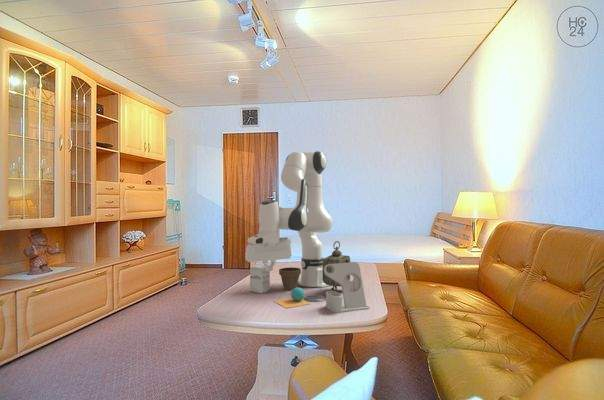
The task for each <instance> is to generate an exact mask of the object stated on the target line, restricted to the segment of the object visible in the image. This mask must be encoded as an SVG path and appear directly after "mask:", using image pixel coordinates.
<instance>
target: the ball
mask: <svg viewBox="0 0 604 400" xmlns="http://www.w3.org/2000/svg"><path fill="white" fill-rule="evenodd" d="M304 297H305V291H304V288H301V287H298V286H297V288H294V289H293V290H291V292H290V298H292V299H293V300H295V301H301V300H304Z"/></svg>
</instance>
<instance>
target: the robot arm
mask: <svg viewBox="0 0 604 400" xmlns="http://www.w3.org/2000/svg"><path fill="white" fill-rule="evenodd" d="M326 166H327V156H326V155H325V154H324V152H322V151H320V150H319V151H318V150H316V151H303V152H302V151H301V152H300V151H292V152H291V153H289V154H288V155H287V157H286V159H285V161H284V164H283V168H282V170H281V173H280V174H281V175H280V180H281V181H280V182H282V184H283V185H284V187H285V188H287V189H288V190H291V191H293V192H296V193H297V194H296V203H295V206H293V207H281V206H280V205H279V201H278V200H275V199H269V200H268V199H267V200H263V201H261V202H260V204H259V207H258V224H259V226H258V227H259V228H258V234H255V235H253V236H250V237H248V238H247V243H248V244H247V245H246V248H245V261H247V262H248V263H259V262H262V265H264V266H265V271H270V272H273V271H274V267H275V265H276V264H277V263H276V261H278V260H289V259H291V257H292V247H291V246H292V245H291V244H292V243H291V239H290V238H289V237H280V230H287V231H288V230H290V231H297V233H298V236H299V239H300V241H301V262H300V263H301V264H300V265H301V274H300V279H299V282H298V284H299V285H300V286H301V287H309V288H325V287H330V286H331V285H326V284H325V283H324V282H323V273H322V268H323V259H324V258H325V257H323V243H322V241H321V240H319V238H318V236H317V234H324V233H328V232H330V231H331V230H332V228H333V224H334V221H333V218H332V216H331V215H330V214H329V213H328V211H327V210H326V208H325V205H324V200H323V179H322V178H323V177H322V172H324V170H325V169H326ZM269 261H270V265H268V262H269Z"/></svg>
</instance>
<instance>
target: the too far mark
mask: <svg viewBox="0 0 604 400" xmlns="http://www.w3.org/2000/svg"><path fill="white" fill-rule="evenodd" d="M303 300H305V301H307V302H310V303H311V302H312V303H313V302H314V303H316V302H323V301H326V296H323V295H320V294H319V295H317V294H314V295H313V294H311V295H306V296H304V298H303Z"/></svg>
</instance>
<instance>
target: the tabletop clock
mask: <svg viewBox="0 0 604 400" xmlns="http://www.w3.org/2000/svg"><path fill="white" fill-rule="evenodd" d="M336 243H338V244H339V245H338V246H336V247H335V245H336ZM340 247H341V243H340V241H338V240H336V241H334V243H333V249H334V250H333V251H332V253H331V254H330V255H328V256H326V257H323V258H324V259H323V268H322V273H323V282H324V283H325V284H326V285H330V286H332V287H331V289H330V291H336V292H337V293H339V291H338V287H341V288H342V286H341V285H340V284H339V283H337V282H336V281H334V280H333V279H331V278H329V277H328V276H326V275H325V273H324V267H325V266H326V265H328V264H337V263H351V258H350V256H349V255H343V253H342V251H341V250H340ZM326 271H327V272H328V273H331V272H332V268H331V267H329V266H328V267H327V268H326ZM347 279H348V280H349V281H351V275H348V277H347Z"/></svg>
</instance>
